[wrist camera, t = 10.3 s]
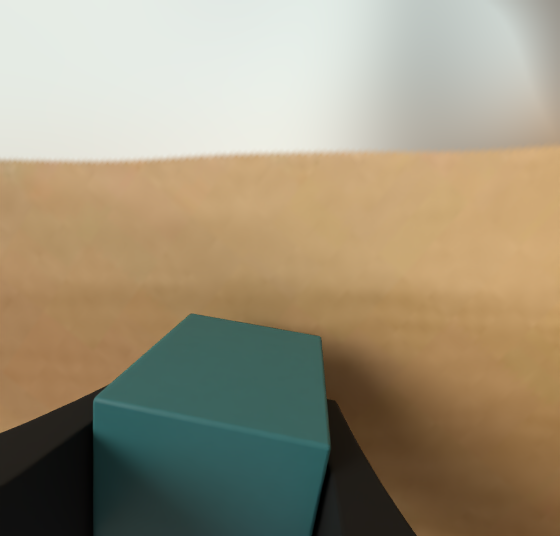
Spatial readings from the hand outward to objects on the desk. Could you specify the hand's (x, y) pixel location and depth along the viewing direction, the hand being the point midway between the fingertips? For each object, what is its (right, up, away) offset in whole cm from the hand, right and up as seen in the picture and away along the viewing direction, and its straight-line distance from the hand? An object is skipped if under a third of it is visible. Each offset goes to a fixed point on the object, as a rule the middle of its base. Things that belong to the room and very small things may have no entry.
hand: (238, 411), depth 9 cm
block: (0, 0, +1) cm, 1 cm away
